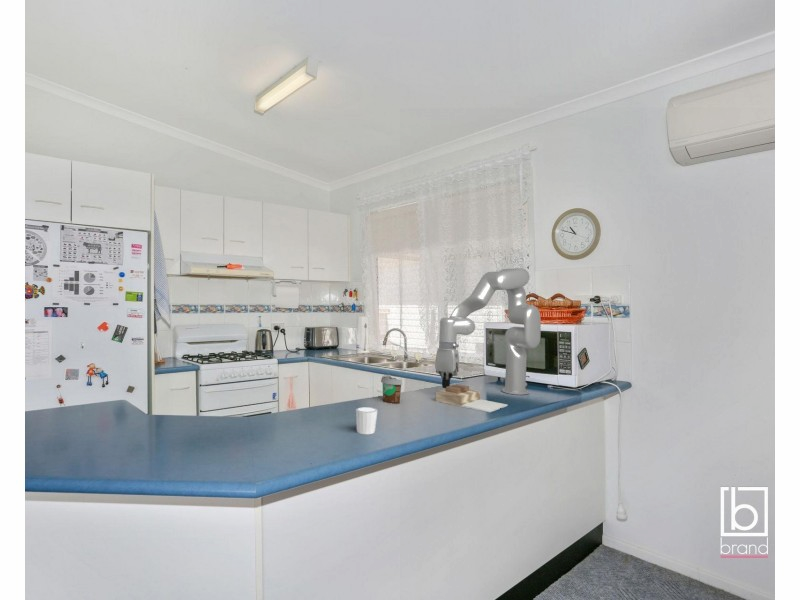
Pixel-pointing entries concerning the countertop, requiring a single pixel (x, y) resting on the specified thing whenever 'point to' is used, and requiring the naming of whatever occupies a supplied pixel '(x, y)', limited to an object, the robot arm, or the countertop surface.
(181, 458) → the countertop surface
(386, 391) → the food container
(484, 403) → the white folded cloth
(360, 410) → the white fluted cup
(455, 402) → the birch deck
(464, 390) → the walnut tile
